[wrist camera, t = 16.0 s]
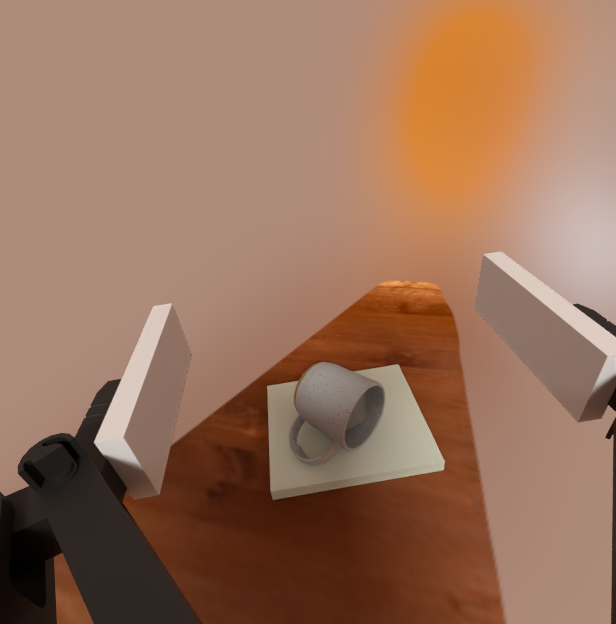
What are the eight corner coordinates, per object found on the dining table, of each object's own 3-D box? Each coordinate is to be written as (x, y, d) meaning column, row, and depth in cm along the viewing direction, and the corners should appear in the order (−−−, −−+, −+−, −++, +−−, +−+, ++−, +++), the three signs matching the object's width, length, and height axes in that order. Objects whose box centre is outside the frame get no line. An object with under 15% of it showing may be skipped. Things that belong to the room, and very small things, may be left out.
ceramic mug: (332, 388, 48) (326, 343, 43) (387, 418, 43) (387, 370, 38) (274, 445, 42) (260, 399, 37) (330, 488, 37) (322, 441, 32)
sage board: (273, 500, 38) (270, 492, 37) (269, 393, 50) (267, 385, 50) (443, 470, 39) (444, 461, 38) (398, 372, 51) (398, 364, 50)
